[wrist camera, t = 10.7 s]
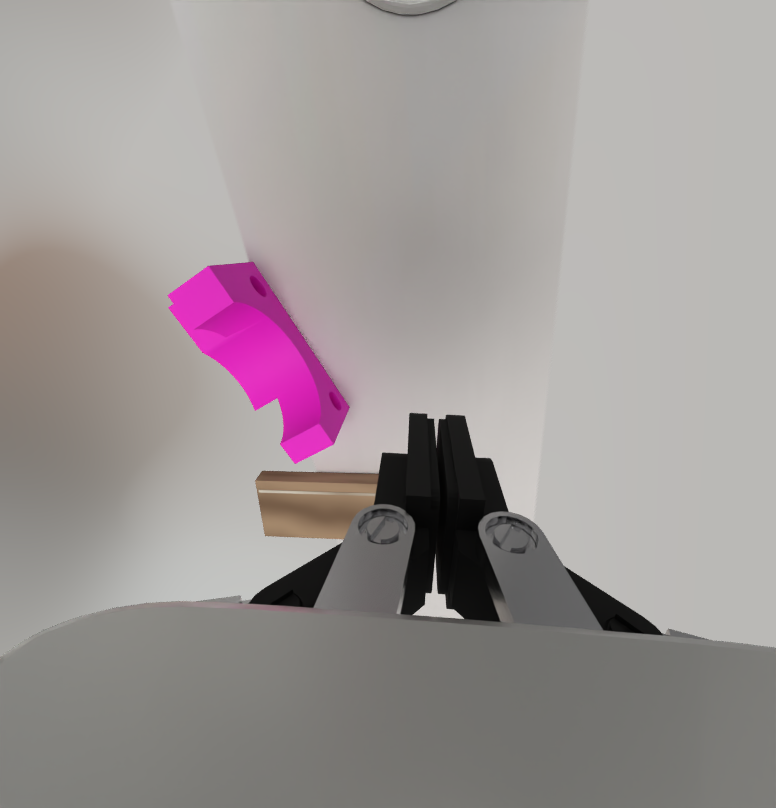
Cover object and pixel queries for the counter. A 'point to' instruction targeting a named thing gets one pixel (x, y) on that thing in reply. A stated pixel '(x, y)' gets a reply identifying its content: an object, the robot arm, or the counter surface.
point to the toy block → (262, 352)
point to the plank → (312, 502)
